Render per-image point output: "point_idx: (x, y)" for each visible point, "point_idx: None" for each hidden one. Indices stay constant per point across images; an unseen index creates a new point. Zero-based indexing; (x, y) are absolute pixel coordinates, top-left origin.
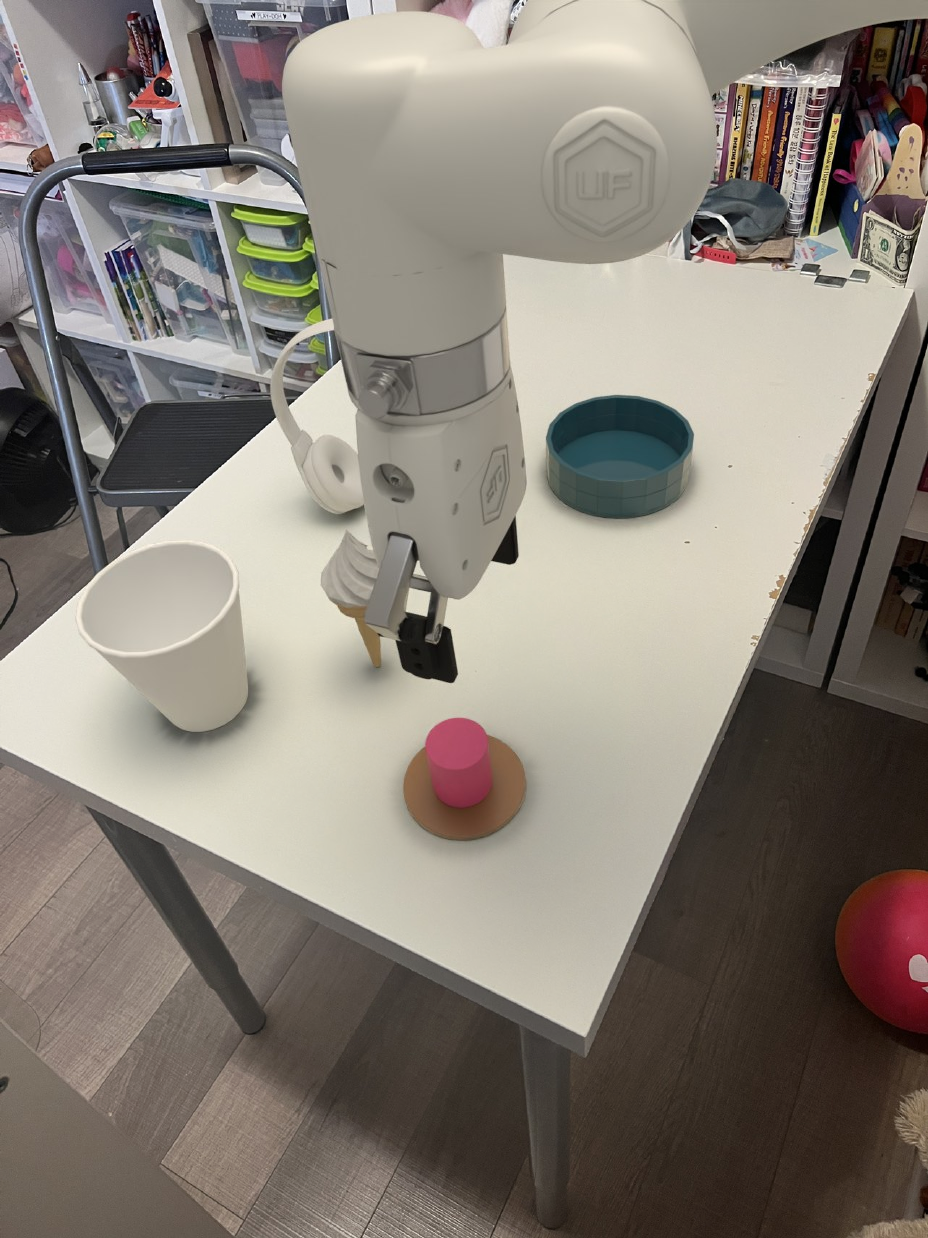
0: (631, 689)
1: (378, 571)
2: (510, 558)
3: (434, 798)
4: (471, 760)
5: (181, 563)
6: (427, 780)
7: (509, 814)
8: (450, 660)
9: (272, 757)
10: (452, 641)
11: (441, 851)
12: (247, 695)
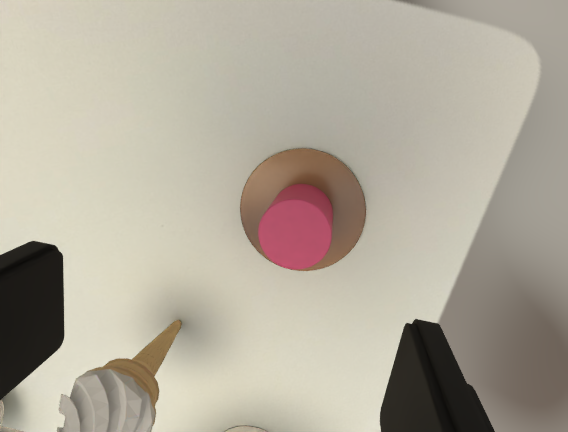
0: (145, 50)
1: (95, 402)
2: (47, 260)
3: None
4: (315, 214)
5: None
6: None
7: (332, 159)
8: (459, 373)
9: (301, 389)
10: (451, 406)
11: (378, 218)
12: (240, 427)
